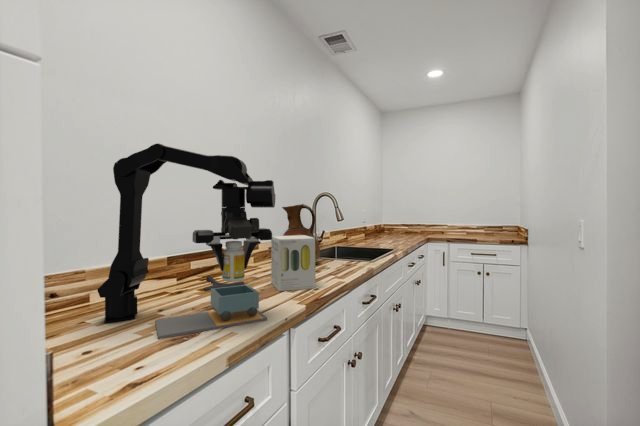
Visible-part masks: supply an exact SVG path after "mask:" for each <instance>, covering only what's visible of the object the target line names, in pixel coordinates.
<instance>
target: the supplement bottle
mask: <svg viewBox="0 0 640 426" xmlns="http://www.w3.org/2000/svg"><path fill="white" fill-rule="evenodd" d="M242 246H243V241H242V240H227V241H225V248H226V249H224V250H222V256H223V271H221V272H222V274H221V275H222V281H223V282H229V283H236V282H242V281H244V280H245V269H244V259H245V253H244V251H243V248H242Z"/></svg>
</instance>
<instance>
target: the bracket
mask: <svg viewBox="0 0 640 426" xmlns="http://www.w3.org/2000/svg"><path fill="white" fill-rule="evenodd" d="M205 281H206V282H207V281H208V283H210V282H211V283H210V284H212V283H213V284H212V286H207V287H206V286H205V287H204V288H203V291H204V290H205V291H204V292H209V290H210V291H211V289H213V288H221V287H230V286H238V285H245V281H244V280H241V281H235V282H229V283H224V282H219V281H218V280H216V279H214V278H213V276H211V275H207V277H206V280H205Z"/></svg>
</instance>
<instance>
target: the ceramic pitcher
mask: <svg viewBox="0 0 640 426" xmlns="http://www.w3.org/2000/svg"><path fill="white" fill-rule="evenodd" d="M281 208H282V209H283V210H284V211H285V213H286V216H287V221H288V228H287V230H286V231H285V232H284V233H283V235H282V236H296V235H306V236H310V237H314V238H315V262H316V261H318V260H319V259H320V258H321V249H320V245H319V242H318V240H317V238H316V237H315V235H314V228H315V223H316V215H315V213H314V210H313V209H312V208H311V207H310V206H309V205H307V204H305V203H302V204H297V205H290V206H282V207H281ZM303 209H306V210H308V211H309V212H310V214H311V217H312V219H311V220H312V221H311V225H310V227H309V228H308V227H305V226H304V225H303V223H302V220H301V219H302V218H301V213H302V212H301V211H302V210H303Z"/></svg>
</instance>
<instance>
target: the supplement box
mask: <svg viewBox="0 0 640 426" xmlns="http://www.w3.org/2000/svg"><path fill="white" fill-rule="evenodd" d="M315 238H316V237H315ZM315 238H314V237H310V236H306V235H296V236H283V235H272V240H270V241H271V242H270V244H271V245H270V250H271V256H270V257H271V261H270V263H271V266H270V267H271V268H270V269H271V270H270V271H271V273H270V274H271V277H270V278H271V279H270V281H271V284H272V285H273V287H274V288H275V289H276V290H277V291H278V292H283V291H285V292H286V291H287V292H288V291H297V290H306V289H307V290H311V289H316V261H315Z"/></svg>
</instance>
